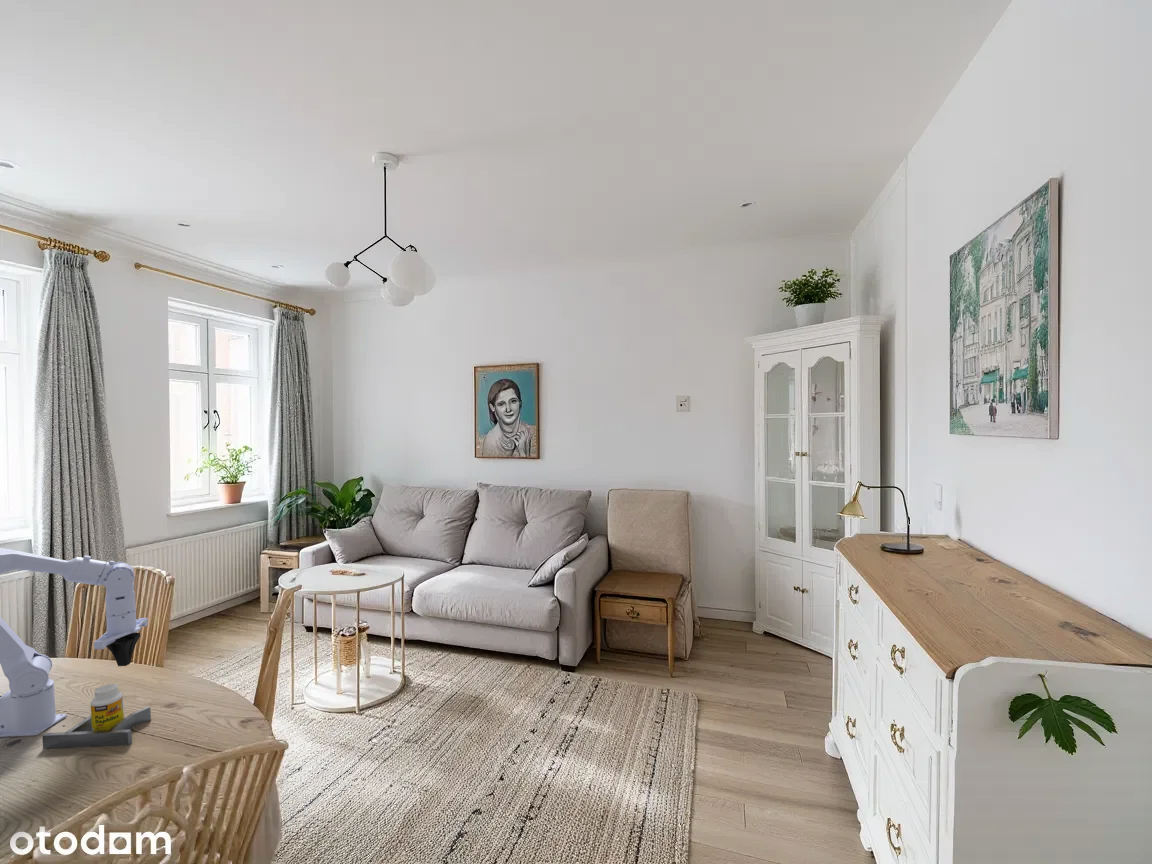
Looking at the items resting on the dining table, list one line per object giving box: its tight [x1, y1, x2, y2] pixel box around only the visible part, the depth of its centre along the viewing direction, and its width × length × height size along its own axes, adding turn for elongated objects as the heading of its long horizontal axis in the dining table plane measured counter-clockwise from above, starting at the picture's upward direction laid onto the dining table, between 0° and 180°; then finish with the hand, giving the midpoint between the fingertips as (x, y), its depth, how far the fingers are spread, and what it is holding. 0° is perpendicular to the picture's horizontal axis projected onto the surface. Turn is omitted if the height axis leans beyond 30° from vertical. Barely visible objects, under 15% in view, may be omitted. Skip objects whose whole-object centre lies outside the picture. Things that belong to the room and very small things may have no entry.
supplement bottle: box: [90, 683, 125, 731], centre depth 123 cm, size 6×6×10 cm
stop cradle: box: [41, 705, 152, 750], centre depth 123 cm, size 18×10×3 cm, turn 93°
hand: (124, 664), depth 136 cm, fingers closed
